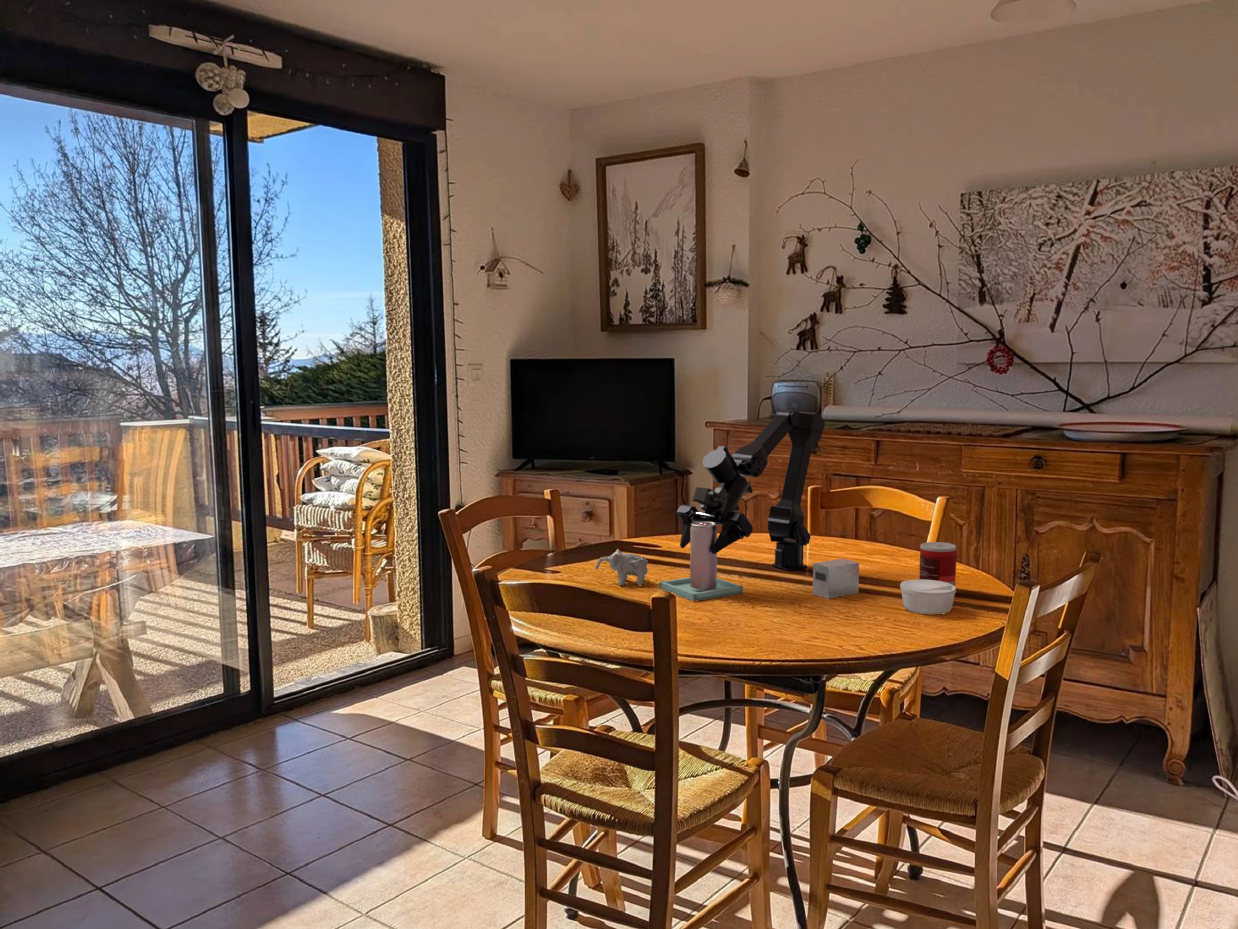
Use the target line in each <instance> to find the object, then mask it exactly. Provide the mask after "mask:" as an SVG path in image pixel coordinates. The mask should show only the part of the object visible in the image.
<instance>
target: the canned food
mask: <svg viewBox="0 0 1238 929" xmlns="http://www.w3.org/2000/svg"><path fill="white" fill-rule="evenodd" d="M919 548H920V551H919V579H925V580H936V581H942V582H946V583H950V584H952V585H954V586H955V587H956V577H957V576H956V575H957V546H956V544H953V543H949V542H944V541H943V542H942V541H941V542H940V541H928V542H923V543H921V544H920V547H919Z"/></svg>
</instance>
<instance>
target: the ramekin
mask: <svg viewBox="0 0 1238 929" xmlns="http://www.w3.org/2000/svg"><path fill="white" fill-rule="evenodd" d="M899 586H900V588H899V589H900V590H901V597H902V605H903V607H904V608H905V610H906V609H907V610H906V611H908V610H909V611H908V612H910V611H911V612H910V613H912V612H916V613H921V614H920V615H922V614H942V613H947V612H948V613H950V612H951V610H952V608H953V604H954V598H955V595H956V593H957V587H956V585H955V586H954V585H952V584H950V583H946V582H942V581H936V580H925V579H910V580H904V581H903V580H902V582H901V583H900V584H899ZM916 613H915V614H916ZM948 613H947V614H948Z"/></svg>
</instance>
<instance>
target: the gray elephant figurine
mask: <svg viewBox="0 0 1238 929" xmlns="http://www.w3.org/2000/svg"><path fill="white" fill-rule="evenodd" d="M648 561H649V560H647V559H646V558H645V556H641V555H639V554H635V553H631V552H629V553H627V552H626V553H625V552H622V551H620V549H619V548H616V550H615V552H613V553H612V554H611V555H608V556H602V557H600V558H599V559H598V560H597V563H596V564H595V570H599V568H600V564H601V563H602V562H607V563H608V564H610V566H609V567H610V569H611V570H613V571H616V572H617V577H618V581H617V583H618V585H619V584H620V585H624V586H625V585H626V583H627V580H628V575H629V576H634V577H637V578H636V586H638V585H644V580H645V576H646V575H647V574H648V571H649V570H648ZM620 585H619V586H620Z"/></svg>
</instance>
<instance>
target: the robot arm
mask: <svg viewBox="0 0 1238 929" xmlns="http://www.w3.org/2000/svg"><path fill="white" fill-rule="evenodd" d="M825 424H826V422H825V419H824V418H823V415H821V414H820V413H819V412H808V411H805V412H804V411H796V410H794V409H791V410H790V409H780V410H778V411H776V413H775V415H774V417H773V418H772V420H771V421H770V422H769V423H768V424H767V425H766V426H765V427H764V429H763V430H762V431H761V432H760V433H759V434H758V435H757V436H756V438H754V439H753V441H751V442H750V443H748V444H746V445H743V446H740V447H739V448H738V449H737V450H736V451H735V452H733V454H731V453H730V452H729V449H728V447H727V446H723V445H719V446H717V448H716V449H713V450H711V451H710V452H708V453H707V454H706V455H705V456H704V457H703V459H702V465H703V466H704V468H705V469H706V471H707V472H708V474H709V475H710V476H711V478H712V480H713V481H714V482H715V483H718V484H720V485H719V486H718V487H716V488H715V489H712V488H709V487H708V488H707V487H700V486H696V487H695V490H694V493H693V496H692V502H697V503H698V504H700V507H699V508H701V510H702V511H704V513H703V512H699V510H698V509H697V507H696V506H695V505H688V504H681V505H679V507H678V509H677V511H675V514H676V515H677V516H678V518H679V519H680V521H681V522H682V532H681V537H680V543H679V547H680V548H681V549H684V548H685V547H687V545H689V543H690V528H691V523H693V522H714V523H716V526H721V531H720V533H719V534H718V535H717V540H716V542H715V544H714V546H713V548H712V550H711V552H712V553H713V554H716V553H717V554H718V553H719V552H720V551H721V550H723V549H725V548H727V547H728V546H730V545H732V544H734V543H735V542H737V541H739V540H743V539H744V538H749V537H751V534H752V532H753V524H752V523H751V522H750V520H749V519H748V517H747V516H746V515H745V512H744V513H743V512H739V511H740V506H739V503H740V501H741V499H742V498H743V496H744V495H745V493H747V494H752V493H753V487H752V485H751V484H752V483H751V481H749V480H748V479H747V478H746V477H750V478H758V477H760V476H761V475H762V473H764V471H765V469H766V467H767V466H768V464H769V459H768V457H769V456H770V454H771V453H772V452H773V451H774V450H775V448H777V446H778V445H779V444H780V442H782V441H783V439H784V438H785V437H786V436H787V435H788V437H789V440H790V442H791V448H790V453H789V454H790V455H789V459H788V464H787V468H786V472H785V477H784V482H783V486H782V491H781V497H780V500H779V501H778V503H777V504H776V505H771V506H770V508H769V515H768V518H767V520H766V521H767V531H768V535H769V540H770V542H772V543H773V542H774V543H776V544H775V546H776V548H775V549H774V563H771V566H772V567H776V568H779V569H782V570H786V571H791V570H793V571H794V570H798V569H799V570H800V569H806V568H808V565H807V564H804V546H808V544H810V540H811V534H810V532H809V531H808V529H807V528H806V527H805V525H804V523H805V522H804V521H805V515H804V512H803V509H802V506H801V503H802V499H803V495H804V494H803V493H804V488H805V483H806V479H807V474H808V470H809V465H810V460H811V454H812V450H813V448H814V447H815V446H816V445H817V444H818V442H819V441H821V438H822V436H823V432H824V430H825Z"/></svg>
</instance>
